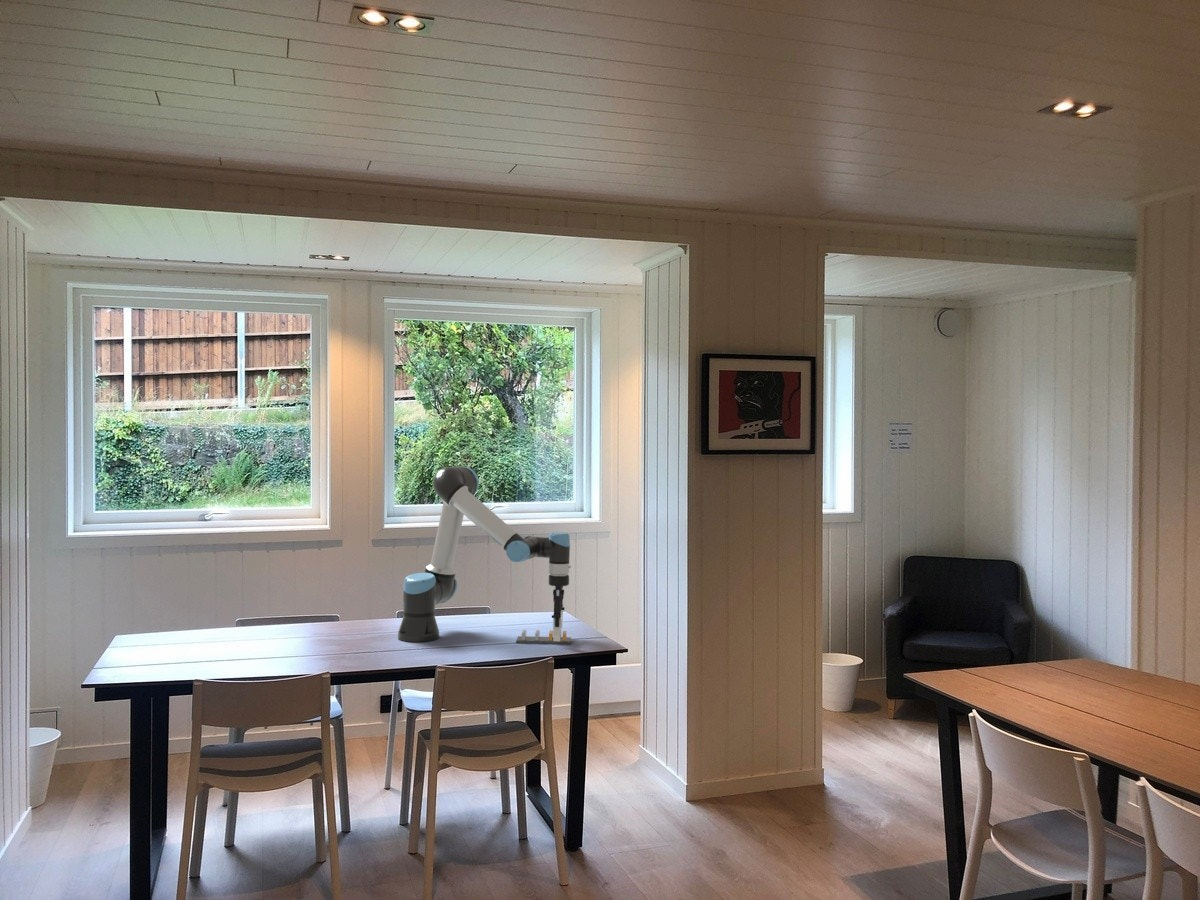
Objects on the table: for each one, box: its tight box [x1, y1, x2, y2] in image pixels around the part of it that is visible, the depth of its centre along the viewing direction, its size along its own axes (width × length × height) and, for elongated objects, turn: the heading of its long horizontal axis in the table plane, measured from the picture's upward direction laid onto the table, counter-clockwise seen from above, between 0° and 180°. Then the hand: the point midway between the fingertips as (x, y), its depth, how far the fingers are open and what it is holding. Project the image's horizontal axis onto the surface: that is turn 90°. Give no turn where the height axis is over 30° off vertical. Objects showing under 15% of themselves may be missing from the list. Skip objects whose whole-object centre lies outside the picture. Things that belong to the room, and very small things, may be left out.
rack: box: [515, 629, 572, 645], centre depth 348 cm, size 20×7×4 cm, turn 90°
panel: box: [553, 617, 563, 641], centre depth 348 cm, size 2×8×8 cm, turn 0°
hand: (557, 631), depth 348 cm, fingers open, 13 cm apart
